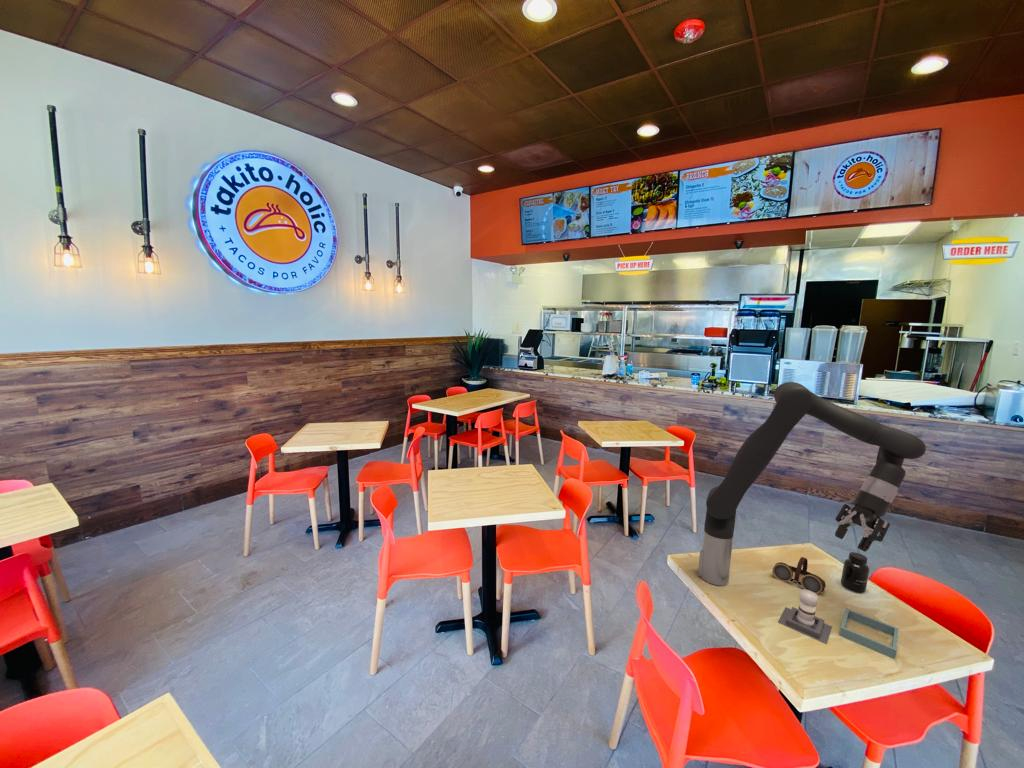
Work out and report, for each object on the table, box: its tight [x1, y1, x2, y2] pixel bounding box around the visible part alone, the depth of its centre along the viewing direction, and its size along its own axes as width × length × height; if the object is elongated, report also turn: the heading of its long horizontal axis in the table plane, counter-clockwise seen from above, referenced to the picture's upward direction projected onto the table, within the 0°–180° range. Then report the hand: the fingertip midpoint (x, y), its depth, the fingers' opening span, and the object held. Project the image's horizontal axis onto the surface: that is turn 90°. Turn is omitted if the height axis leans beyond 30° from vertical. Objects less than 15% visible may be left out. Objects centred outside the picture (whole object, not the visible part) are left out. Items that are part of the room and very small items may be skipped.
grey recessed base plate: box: [777, 606, 833, 645], centre depth 125 cm, size 12×10×2 cm
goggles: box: [772, 556, 827, 595], centre depth 147 cm, size 15×13×10 cm
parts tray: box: [839, 608, 900, 660], centre depth 121 cm, size 12×12×4 cm
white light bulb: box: [796, 589, 819, 629], centre depth 124 cm, size 4×4×10 cm
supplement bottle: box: [840, 551, 870, 594], centre depth 144 cm, size 7×7×12 cm
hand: (849, 543), depth 124 cm, fingers open, 8 cm apart
